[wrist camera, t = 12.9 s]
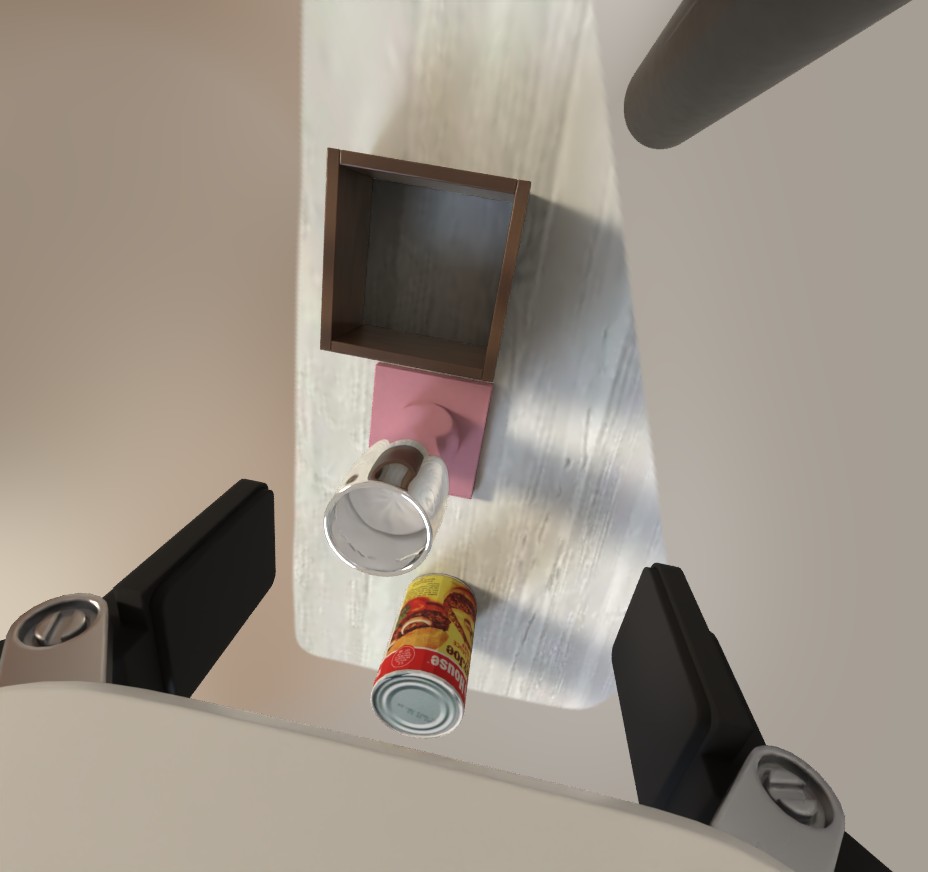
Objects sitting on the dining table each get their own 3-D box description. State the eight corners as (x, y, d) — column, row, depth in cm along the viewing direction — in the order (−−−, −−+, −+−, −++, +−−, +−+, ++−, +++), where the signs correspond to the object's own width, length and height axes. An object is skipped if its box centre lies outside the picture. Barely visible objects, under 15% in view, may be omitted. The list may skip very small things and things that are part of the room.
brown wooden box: (363, 164, 34) (326, 147, 28) (529, 192, 34) (531, 181, 27) (353, 332, 39) (319, 349, 33) (497, 359, 39) (492, 382, 32)
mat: (378, 361, 40) (375, 364, 39) (493, 383, 39) (492, 386, 39) (369, 473, 44) (365, 478, 43) (472, 494, 44) (471, 499, 43)
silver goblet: (375, 409, 41) (300, 494, 27) (450, 387, 39) (411, 466, 25) (404, 477, 43) (348, 588, 29) (476, 459, 41) (452, 568, 28)
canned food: (483, 629, 50) (471, 738, 39) (413, 633, 52) (383, 740, 40) (469, 569, 47) (452, 669, 36) (396, 576, 49) (358, 674, 38)
